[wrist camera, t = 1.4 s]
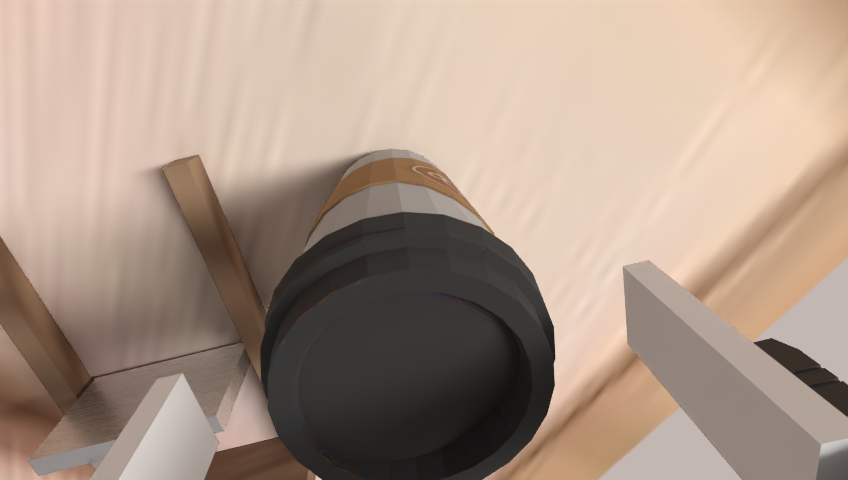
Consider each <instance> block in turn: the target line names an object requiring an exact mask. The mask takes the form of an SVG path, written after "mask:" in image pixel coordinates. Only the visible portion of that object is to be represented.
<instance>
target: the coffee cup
mask: <svg viewBox="0 0 848 480" xmlns="http://www.w3.org/2000/svg"><path fill="white" fill-rule="evenodd" d="M264 324H265V332H264V335H263V339H262V342H261V347H260V362H261V382H262V385H263V388H264V390H265V393H266V396H267V399H268V410H269V413H270V416H271V418H272V421H273V424H274V426H275V429H276V432H277V434H278V437H279V439H280V440H281V441H282V442H283V444H284V445H285V446H286V448H287V449H288V450H289V451H290V453H291V454H292V455H293V456H294V458H295V459H296V460H297V461H298V462H299V463H300V464H302V465H303V466H304V467H306V468H307V469H308V470H310V471H311V472H313V473H314V474H315V475H317V476H318V477H319V478H321V479H322V480H482V479H484V478H486V477H487V476H489V475H490V474H492V473H493V472H495V471H496V470H498V469H500V468H501V467H503V466H504V465H506V464H507V463H509V462H510V461H511V460H512V459H513V458H514V457H515V456H516V455H517V454H518V453H519V452H520V451H521V450H522V449H523V448H524V447H525V446H526V445H527V444H528V443H529V442H530V441H531V440H532V438H533V437H534V435H535V433H536V432H537V430H538V428H539V427H540V425H541V423H542V422H543V420H544V418H545V417H546V415H547V412H548V409H549V405H550V401H551V397H552V394H553V390H554V386H555V382H554V361H555V342H554V326H553V324H552V321H551V319H550V316H549V313H548V311H547V308H546V306H545V303H544V301H543V298H542V296H541V293H540V291H539V288H538V286H537V283H536V280H535V278H534V275H533V273H532V272H531V271H530V270H529V268H528V267H527V266H526V265H525V263H524V262H523V261H522V260H521V258H520V257H519V256H518V255H517V254H516V252H515V251H514V250H513V249H512V247H510V246H509V245H507V244H506V243H504V242H503V241H501V240H500V239H498V238H497V237H495V235H494V232H493V231H492V230H491V229H490V227H489V226H488V225H487V224H486V222H485V221H484V220H483V219H482V218H481V216H480V215H479V214H478V213H477V211H476V210H475V209H474V208H473V207H472V205H471V204H470V203H469V202H468V201H467V200H466V198H465V197H464V196H463V195H462V194H461V192H460V191H459V190H458V189H457V188H456V186H455V185H454V184H453V183H452V182H451V180H450V179H449V178H448V177H447V176H446V174H444V173H443V172H441V171H440V170H439V169H438V167H437V166H436V165H435V164H433V163H432V162H430V161H429V160H428V159H426V158H425V157H423V156H421V155H419V154H416V153H413V152H411V151H408V150H397V149H388V150H382V151H377V152H373V153H371V154H369V155H367V156H365V157H363V158H360V159H359V160H358V161H357V162H355V163H354V164H353V165H352V166H351V167H350V168H348V169H347V171H346V172H345V174H344V175H343V177H342V178H341V180H340V181H339V183H338V185H337V186H336V188H335V189H334V191H333V192H332V194H331V195H330V197H329V198H328V200H327V201H326V203H325V205H324V207H323V209H322V211H321V213H320V214H319V216H318V218H317V220H316V222H315V224H314V226H313V227H312V229H311V231H310V233H309V236H308V239H307V242H306V245H305V248H304V250H303V252H302V254H301V256H300V257H299V258H297V259H296V260H295V261H294V263H293V264H292V265H291V267H290V268H289V270H288V271H287V273H286V274H285V276H284V277H283V279H282V280H281V282H280V283H279V284H278V286H277V287H276V289H275V290H274V293H273V297H272V300H271V303H270V306H269V310H268V313H267V316H266V320H265V323H264Z"/></svg>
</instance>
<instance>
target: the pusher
mask: <svg viewBox="0 0 848 480" xmlns="http://www.w3.org/2000/svg"><path fill="white" fill-rule="evenodd" d="M250 362H251V360H250V358H249V355H248V353H247V351H246V349H245V347H244V345H243V342H242V343H238V344H234V345H230V346H225V347H221V348H217V349H213V350H209V351H205V352H201V353H197V354H192V355H188V356H184V357H180V358H176V359H172V360H168V361H164V362H159V363H155V364H151V365H147V366H143V367H139V368H135V369H131V370H126V371H122V372H118V373H114V374H110V375H106V376H102V377H98V378H95V379H94V381H93V382H92V383H91V384H90V386H89V387H88V388H87V389H86V390H85V392H84V393H83V394H82V395H81V396H80V398H79V399H78V400H77V401H76V403H75V404H74V405H73V406H72V407H71V409H70V410H69V411H68V412H67V413H66V415H65V416H64V417H63V418H62V420H61V421H60V422H59V423H58V424H57V426H56V427H55V428H54V429H53V430H52V432H51V433H50V434H49V435H48V437H47V438H46V439H45V440H44V441H43V443H42V444H41V445H40V446H39V447H38V449H37V450H36V451H35V452H34V454H33V455H32V456H31V457H30V458H29V460H28V461H27V462H28V463H29V464H30V465H31V467H32V468H33V469H34V471H35V472H36V473H37V474H38V476H40V475H44V474H48V473H52V472H56V471H60V470H65V469H69V468H73V467H77V466H81V465H85V464H89V463H91V464H92V465H93V467H94V468H95V469H96V470H97V468H98V467H99V465H100V464H101V462H102V461H103V459H104V458H105V456H106V455H107V453H108V452H109V450H110V449H111V447H112V446H113V444H114V443H115V441H116V440H117V438H118V437H119V435H120V434H121V432H122V431H123V429H124V428H125V426H126V425H127V423H128V422H129V420H130V419H131V417H132V416H133V414H134V413H135V411H136V410H137V408H138V407H139V405H140V404H141V402H142V401H143V399H144V398H145V396H146V395H147V393H148V392H149V390H150V389H151V387H152V386H153V384H154V383H155V381H156V380H157V379H160V378H164V377H168V376H172V375H176V374H180V373H183V375H184V377H185V379H186V381H187V383H188V384H189V386H190V388H191V390H192V392H193V394H194V396H195V398H196V400H197V402H198V403H199V405H200V407H201V409H202V411H203V413H204V415H205V417H206V419H207V420H208V422H209V424H210V426H211V428H212V430H213V432H214V433H217V432H221V431H224V429H225V427H226V424H227V421H228V419H229V416H230V414H231V411H232V409H233V406H234V403H235V401H236V398H237V396H238V393H239V390H240V388H241V385H242V383H243V380H244V377H245V375H246V372H247V370H248V367H249V365H250Z"/></svg>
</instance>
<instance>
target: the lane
mask: <svg viewBox="0 0 848 480" xmlns="http://www.w3.org/2000/svg"><path fill="white" fill-rule="evenodd" d="M162 169H163V171H164V173H165V176H166V178H167V180H168V182H169V184H170V186H171V189H172V191H173V193H174V195H175V197H176V199H177V202H178V204H179V206H180V208H181V210H182V212H183V215H184V217H185V219H186V221H187V223H188V225H189V228H190V230H191V232H192V234H193V236H194V238H195V241H196V243H197V245H198V247H199V249H200V251H201V254H202V256H203V258H204V260H205V262H206V264H207V267H208V269H209V271H210V273H211V275H212V277H213V280H214V282H215V284H216V286H217V288H218V290H219V293H220V295H221V297H222V299H223V301H224V303H225V306H226V308H227V310H228V312H229V314H230V316H231V319H232V321H233V323H234V325H235V327H236V329H237V332H238V334H239V336H240V338H241V340H242V342H243V345H244V347H245V349H246V351H247V353H248V355H249V358H250V360H251V362H252V364H253V366H254V368H255V371H256V373H257V375H258V377H259V379H260V381H261V362H260V347H261V342H262V339H263V335H264V332H265V324H264V323H265V320H266V316H267V315H266V312H265V310H264V308H263V305H262V303H261V301H260V298H259V296H258V294H257V291H256V289H255V286H254V284H253V282H252V279H251V277H250V275H249V272H248V270H247V268H246V265H245V263H244V260H243V258H242V256H241V253H240V251H239V249H238V246H237V244H236V242H235V239H234V237H233V234H232V232H231V230H230V227H229V225H228V223H227V220H226V218H225V216H224V213H223V211H222V209H221V206H220V204H219V201H218V199H217V197H216V194H215V192H214V190H213V187H212V185H211V183H210V180H209V178H208V175H207V173H206V171H205V168H204V166H203V164H202V161H201V159H200V157H199V155H195V156H191V157H187V158H183V159H179V160H175V161H173V162H172V163H170V164H169V165H167V166H165V167H164V168H162ZM0 324H1V325H2V327H3V328H4V330H5V331H6V333H7V334H8V335H9V337H10V338H11V340H12V341H13V343H14V344H15V345H16V347H17V348H18V350H19V351H20V352H21V354H22V355H23V357H24V358H25V360H26V361H27V362H28V364H29V365H30V367H31V368H32V370H33V371H34V372H35V374H36V375H37V377H38V378H39V379H40V381H41V382H42V384H43V385H44V387H45V388H46V389H47V391H48V392H49V394H50V395H51V397H52V398H53V399H54V401H55V402H56V404H57V405H58V406H59V408H60V409H61V411H62V412H63V414H64V415H66V413H67V412H68V411H69V410H70V409H71V407H72V406H73V405H74V404H75V403H76V401H77V400H78V399H79V398H80V396H81V395H82V394H83V393H84V392H85V390H86V389H87V388H88V387H89V386H90V384H91V383H92V382H93V380H92V378H91V377H90V375H89V373H88V372H87V370H86V369H85V367H84V366H83V364H82V363H81V361H80V359H79V358H78V356H77V355H76V353H75V352H74V350H73V349H72V347H71V346H70V344H69V342H68V341H67V339H66V338H65V336H64V335H63V333H62V332H61V330H60V329H59V327H58V325H57V324H56V322H55V321H54V319H53V318H52V316H51V315H50V313H49V311H48V310H47V308H46V307H45V305H44V304H43V302H42V301H41V299H40V298H39V296H38V294H37V293H36V291H35V290H34V288H33V287H32V285H31V284H30V282H29V281H28V279H27V277H26V276H25V274H24V273H23V271H22V270H21V268H20V267H19V265H18V263H17V262H16V260H15V259H14V257H13V256H12V254H11V253H10V251H9V250H8V248H7V246H6V245H5V243H4V242H3V240H2V239H1V237H0ZM261 384H262V382H261ZM262 386H263V385H262ZM315 477H316V475H315V474H314V473H313V472H311V471H310V470H308V469H307V468H306V467H304V466H303V465H302V464H300V463H299V462H298V461H297V460H296V459H295V458H294V456H293V455H292V454H291V453H290V451H289V450H288V449H287V448H286V446H285V445H284V444H283V442H282V441H281V440H280V439H279V437H278V438H274V439H270V440H266V441H262V442H258V443H254V444H250V445H245V446H241V447H237V448H233V449H229V450H225V451H221V452H217V453H215V454H214V456H213V459H212V461H211V464H210V466H209V469H208V471H207V474H206V476H205V479H204V480H315Z"/></svg>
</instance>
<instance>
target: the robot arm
mask: <svg viewBox="0 0 848 480" xmlns="http://www.w3.org/2000/svg"><path fill="white" fill-rule="evenodd" d="M623 276H624V292H625V308H626V324H627V340H628V345H629V346H630V347H631V348H632V349H633V351H634V352H635V353H636V354H637V355H638V357H639V358H640V359H641V360H642V361H643V363H644V364H645V365H646V366H647V367H648V368H649V370H650V371H651V372H652V373H653V374H654V376H655V377H656V378H657V379H658V380H659V382H660V383H661V384H662V385H663V386H664V388H665V389H666V390H667V391H668V392H669V393H670V395H671V396H672V397H673V398H674V399H675V401H676V402H677V403H678V404H679V405H680V407H681V408H682V409H683V410H684V411H685V413H686V414H687V415H688V416H689V417H690V418H691V420H692V421H693V422H694V423H695V424H696V426H697V427H698V428H699V429H700V430H701V432H702V433H703V434H704V435H705V436H706V437H707V439H708V440H709V441H710V442H711V443H712V444H713V446H714V447H715V448H716V449H717V451H718V452H719V453H720V454H721V455H722V457H724V459H725V460H726V461H727V463H728V464H729V465H730V466H731V467H732V468H733V470H734V471H735V472H736V473H737V474H738V476H739V477H740V478H741V479H742V480H848V385H847V384H846V383H845V382H843V381H842V382H840V381H839V379H838V377H836V376H835V375H833V374H832V373H831V372H829V371H828V370H827V369H825V368H821V367H820V364H818V363H817V362H815V361H814V360H813V359H811V358H810V357H808V356H807V355H806V354H804V353H803V352H802V351H800V350H799V349H796V348H794V347H791V346H789V345H787V344H784V343H782V342H779V341H777V340H774V339H772V338H770V339H766V340H762V341H758V342H754V343H753V342H752V341H750V340H749V339H748V338H746V337H745V336H744V335H743V334H741V333H740V332H739V331H738V330H736V329H735V328H734V327H733V326H731V325H730V324H729V323H727V322H726V321H725V320H724V319H722V318H721V317H720V316H719V315H717V314H716V313H715V312H714V311H712V310H711V309H710V308H708V307H707V306H706V305H705V304H703V303H702V302H701V301H700V300H698V299H697V298H696V297H695V296H693V295H692V294H691V293H689V292H688V291H687V290H686V289H684V288H683V287H682V286H681V285H679V284H678V283H677V282H676V281H674V280H673V279H672V278H670V277H669V276H668V275H667V274H665V273H664V272H663V271H662V270H660V269H659V268H658V267H657V266H655V265H654V264H653V263H651V262H650V261H649V260H648V261H644V262H640V263H635V264H631V265H627V266H623ZM218 444H219V441H218V439H217V437H216V436H215V434H214V432H213V430H212V428H211V426H210V424H209V422H208V420H207V419H206V417H205V415H204V413H203V411H202V409H201V407H200V405H199V403H198V402H197V400H196V398H195V396H194V394H193V392H192V390H191V388H190V386H189V384H188V383H187V381H186V379H185V377H184V375H183V373H180V374H176V375H172V376H168V377H164V378H160V379H157V380H156V381H155V383H154V384H153V386H152V387H151V389H150V390H149V392H148V393H147V395H146V396H145V398H144V399H143V401H142V402H141V404H140V405H139V407H138V408H137V410H136V411H135V413H134V414H133V416H132V417H131V419H130V420H129V422H128V423H127V425H126V426H125V428H124V429H123V431H122V432H121V434H120V435H119V437H118V438H117V440H116V441H115V443H114V444H113V446H112V447H111V449H110V450H109V452H108V453H107V455H106V456H105V458H104V459H103V461H102V462H101V464H100V465H99V467H98V468H97V470H96V471H95V473H94V474H93V476H92V477H91V479H90V480H204V479H205V476H206V474H207V471H208V469H209V466H210V464H211V461H212V459H213V456H214V454H215V451H216V449H217V446H218Z"/></svg>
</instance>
